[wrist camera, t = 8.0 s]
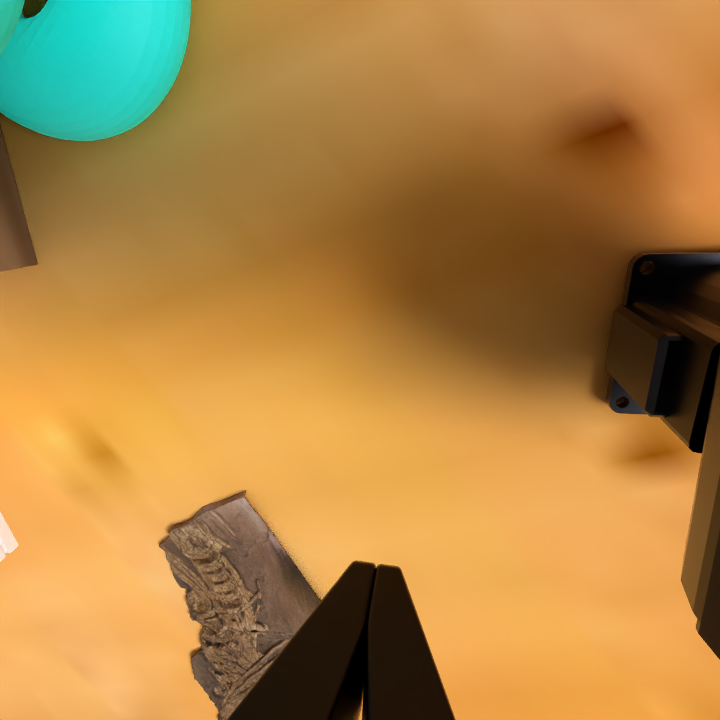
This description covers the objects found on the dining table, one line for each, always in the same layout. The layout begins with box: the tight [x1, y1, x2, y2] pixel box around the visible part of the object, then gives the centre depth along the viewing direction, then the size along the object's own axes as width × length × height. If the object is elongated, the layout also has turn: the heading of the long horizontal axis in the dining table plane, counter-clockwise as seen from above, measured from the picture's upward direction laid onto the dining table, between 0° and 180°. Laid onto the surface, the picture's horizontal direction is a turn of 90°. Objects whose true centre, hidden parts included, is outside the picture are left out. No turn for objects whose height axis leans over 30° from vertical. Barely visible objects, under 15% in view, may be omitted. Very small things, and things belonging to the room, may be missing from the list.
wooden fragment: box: [159, 490, 321, 720], centre depth 29 cm, size 26×11×1 cm, turn 4°
